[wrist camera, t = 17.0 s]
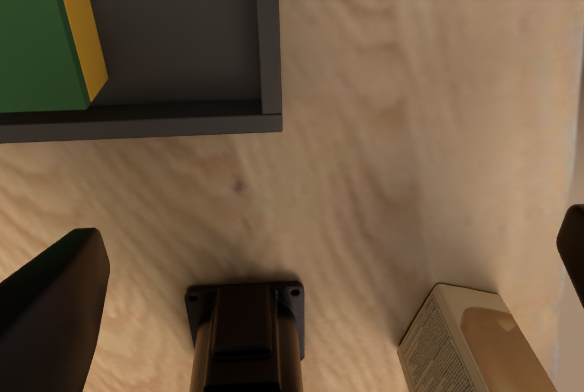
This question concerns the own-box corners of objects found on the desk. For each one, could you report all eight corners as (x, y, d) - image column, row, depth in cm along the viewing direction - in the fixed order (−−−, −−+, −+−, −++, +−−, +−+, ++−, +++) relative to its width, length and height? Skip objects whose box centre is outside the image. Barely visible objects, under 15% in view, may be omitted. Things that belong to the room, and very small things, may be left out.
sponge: (66, -100, 15) (30, -94, 13) (109, 78, 19) (86, 109, 16) (-61, -98, 15) (-122, -92, 13) (5, 82, 19) (-33, 114, 16)
